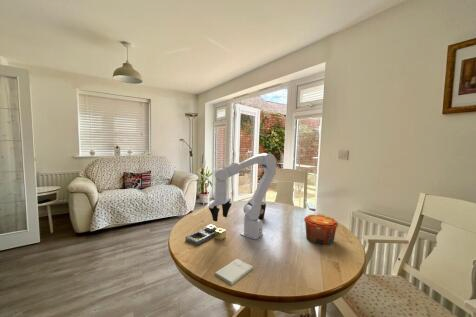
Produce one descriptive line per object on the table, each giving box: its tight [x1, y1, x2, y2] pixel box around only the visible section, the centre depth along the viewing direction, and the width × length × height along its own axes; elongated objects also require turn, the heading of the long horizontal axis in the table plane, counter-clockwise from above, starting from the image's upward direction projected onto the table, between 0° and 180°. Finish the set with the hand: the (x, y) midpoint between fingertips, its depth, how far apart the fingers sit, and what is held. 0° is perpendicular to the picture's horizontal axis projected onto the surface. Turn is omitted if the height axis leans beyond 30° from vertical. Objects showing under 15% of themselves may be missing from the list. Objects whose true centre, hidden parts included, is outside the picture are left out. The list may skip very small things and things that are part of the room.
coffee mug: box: [258, 200, 267, 221], centre depth 134 cm, size 12×9×10 cm
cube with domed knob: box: [204, 224, 217, 233], centre depth 108 cm, size 4×4×4 cm
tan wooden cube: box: [214, 227, 227, 241], centre depth 104 cm, size 4×4×4 cm
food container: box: [303, 214, 339, 246], centre depth 105 cm, size 16×16×11 cm
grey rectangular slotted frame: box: [185, 226, 220, 246], centre depth 105 cm, size 8×18×2 cm, turn 145°
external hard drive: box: [214, 258, 254, 286], centre depth 77 cm, size 2×8×12 cm
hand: (220, 218), depth 104 cm, fingers open, 7 cm apart
